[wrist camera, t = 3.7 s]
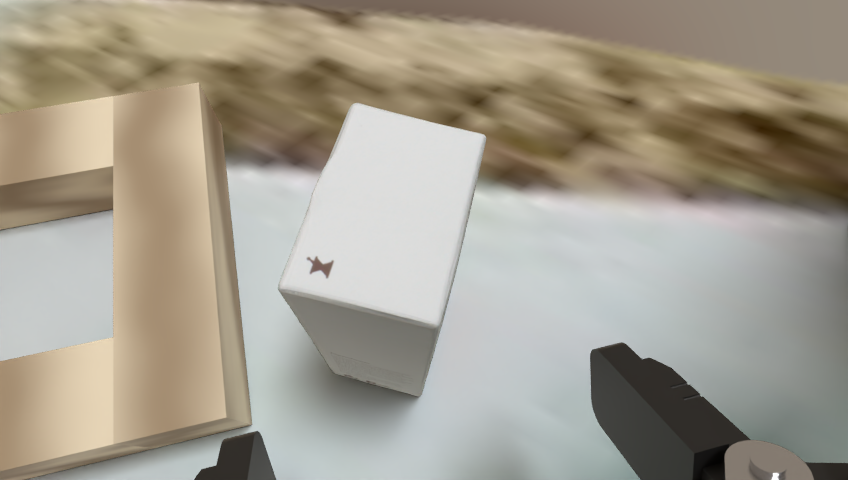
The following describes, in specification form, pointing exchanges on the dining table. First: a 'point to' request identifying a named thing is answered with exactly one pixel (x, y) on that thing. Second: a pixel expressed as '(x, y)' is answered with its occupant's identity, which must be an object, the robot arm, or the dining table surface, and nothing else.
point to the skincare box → (383, 245)
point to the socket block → (128, 281)
